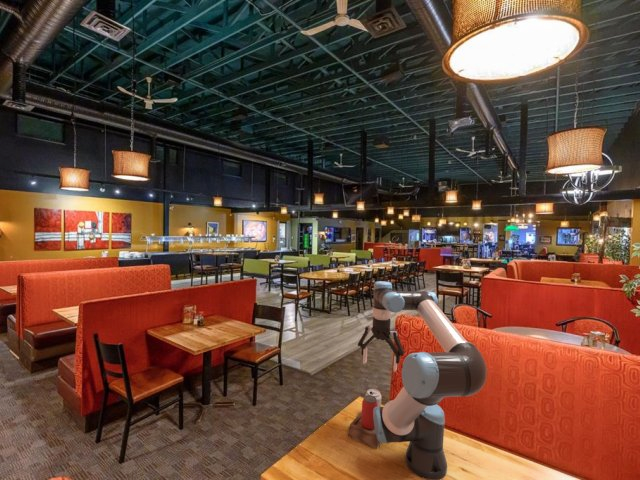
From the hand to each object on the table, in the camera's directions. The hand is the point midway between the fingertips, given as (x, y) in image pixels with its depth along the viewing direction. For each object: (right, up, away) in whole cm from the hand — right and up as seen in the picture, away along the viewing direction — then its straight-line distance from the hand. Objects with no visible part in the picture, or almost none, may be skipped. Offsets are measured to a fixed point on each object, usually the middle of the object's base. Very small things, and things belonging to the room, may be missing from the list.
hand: (379, 366), depth 136 cm
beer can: (-5, -26, 0) cm, 26 cm away
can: (-1, -29, +13) cm, 32 cm away
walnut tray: (-5, -30, 0) cm, 30 cm away
